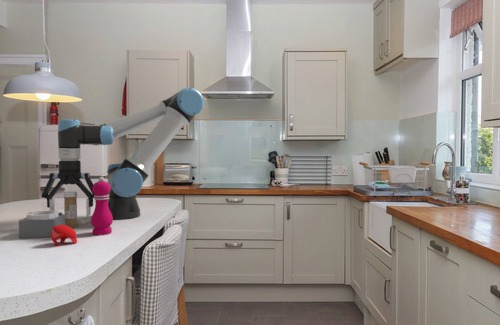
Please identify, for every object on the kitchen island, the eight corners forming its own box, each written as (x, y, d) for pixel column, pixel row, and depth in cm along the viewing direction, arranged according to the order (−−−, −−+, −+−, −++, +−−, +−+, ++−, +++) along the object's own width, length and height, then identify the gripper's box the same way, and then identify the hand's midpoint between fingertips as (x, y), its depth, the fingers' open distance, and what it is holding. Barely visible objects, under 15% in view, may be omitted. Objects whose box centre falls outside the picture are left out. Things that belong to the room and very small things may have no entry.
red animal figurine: (44, 237, 108) (61, 226, 108) (49, 226, 114) (65, 216, 114) (62, 254, 112) (79, 244, 112) (66, 243, 117) (82, 234, 117)
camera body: (65, 230, 131) (65, 209, 131) (54, 237, 121) (53, 214, 121) (33, 231, 130) (32, 210, 129) (19, 238, 120) (18, 215, 119)
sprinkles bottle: (62, 226, 138) (61, 191, 137) (74, 224, 141) (73, 190, 141) (67, 228, 135) (66, 192, 134) (79, 226, 138) (79, 191, 138)
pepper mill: (117, 231, 129) (116, 176, 128) (103, 236, 122) (102, 177, 122) (101, 230, 131) (100, 175, 131) (86, 234, 125) (85, 177, 124)
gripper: (30, 160, 132) (31, 218, 132) (100, 160, 135) (101, 216, 135) (39, 159, 139) (40, 214, 140) (106, 159, 142) (106, 213, 143)
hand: (70, 215), depth 138 cm, fingers open, 12 cm apart
